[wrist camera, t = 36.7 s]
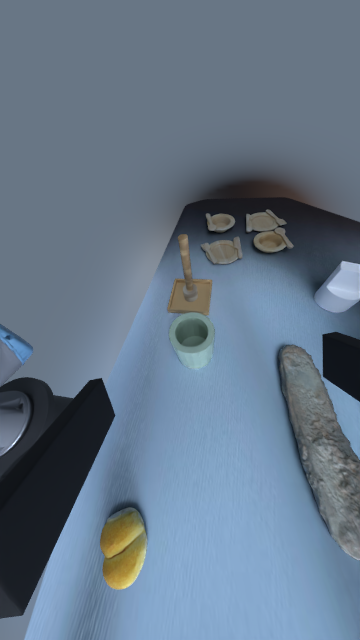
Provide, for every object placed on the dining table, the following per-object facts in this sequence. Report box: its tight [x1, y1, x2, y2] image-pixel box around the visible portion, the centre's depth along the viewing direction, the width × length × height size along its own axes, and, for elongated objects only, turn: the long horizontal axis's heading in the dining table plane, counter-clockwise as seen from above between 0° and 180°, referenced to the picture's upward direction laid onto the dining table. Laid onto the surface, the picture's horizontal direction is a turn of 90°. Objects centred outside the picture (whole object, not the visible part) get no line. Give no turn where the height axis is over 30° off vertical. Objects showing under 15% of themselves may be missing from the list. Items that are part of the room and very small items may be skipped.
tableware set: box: [201, 210, 293, 264], centre depth 68 cm, size 35×29×4 cm
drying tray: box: [167, 279, 212, 315], centre depth 57 cm, size 13×13×2 cm
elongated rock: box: [278, 345, 360, 561], centre depth 35 cm, size 35×5×10 cm
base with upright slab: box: [314, 261, 360, 313], centre depth 45 cm, size 9×9×12 cm
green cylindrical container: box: [169, 312, 215, 369], centre depth 43 cm, size 10×10×13 cm
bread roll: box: [100, 507, 147, 589], centre depth 30 cm, size 8×9×4 cm
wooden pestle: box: [178, 234, 198, 302], centre depth 48 cm, size 5×5×22 cm
